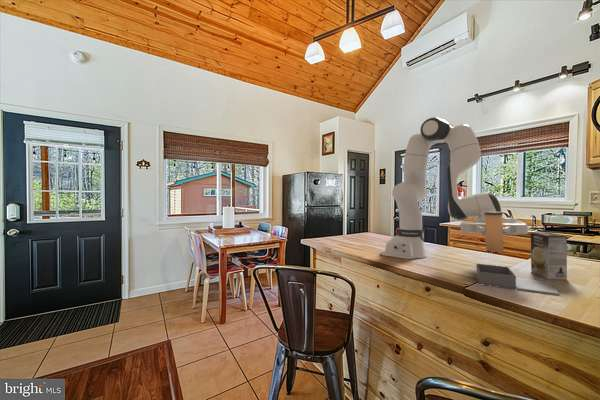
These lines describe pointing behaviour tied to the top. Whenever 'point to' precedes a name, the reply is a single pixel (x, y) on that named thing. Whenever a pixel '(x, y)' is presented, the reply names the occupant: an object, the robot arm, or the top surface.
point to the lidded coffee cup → (494, 231)
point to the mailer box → (510, 280)
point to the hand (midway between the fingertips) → (494, 230)
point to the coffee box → (549, 255)
